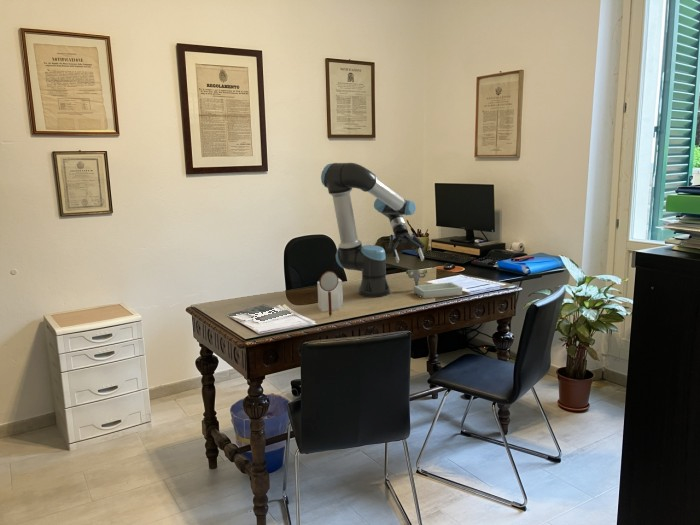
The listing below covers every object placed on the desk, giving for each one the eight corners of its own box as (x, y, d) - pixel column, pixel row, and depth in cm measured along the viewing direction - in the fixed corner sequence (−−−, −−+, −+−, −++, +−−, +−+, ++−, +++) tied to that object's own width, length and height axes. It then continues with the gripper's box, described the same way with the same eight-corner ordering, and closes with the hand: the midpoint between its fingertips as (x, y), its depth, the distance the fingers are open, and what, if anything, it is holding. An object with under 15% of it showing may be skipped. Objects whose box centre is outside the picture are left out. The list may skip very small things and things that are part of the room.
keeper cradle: (423, 298, 262) (423, 291, 261) (413, 293, 273) (413, 286, 272) (462, 294, 267) (462, 287, 266) (451, 289, 278) (451, 282, 278)
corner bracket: (339, 303, 260) (338, 278, 257) (345, 309, 249) (344, 283, 247) (317, 305, 257) (315, 280, 255) (322, 311, 246) (321, 285, 244)
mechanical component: (427, 289, 278) (427, 270, 276) (406, 290, 278) (406, 271, 277) (426, 288, 281) (426, 269, 279) (406, 289, 281) (405, 269, 279)
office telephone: (294, 310, 243) (256, 321, 229) (294, 316, 243) (257, 327, 230) (263, 301, 259) (225, 310, 246) (263, 306, 260) (226, 316, 246)
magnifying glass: (338, 314, 240) (336, 269, 237) (340, 315, 239) (338, 270, 235) (320, 318, 237) (318, 272, 233) (322, 319, 235) (319, 272, 231)
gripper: (419, 230, 304) (430, 262, 293) (375, 233, 297) (386, 266, 286) (422, 221, 298) (435, 254, 287) (378, 225, 291) (389, 258, 280)
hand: (410, 260), depth 286 cm, fingers open, 13 cm apart
